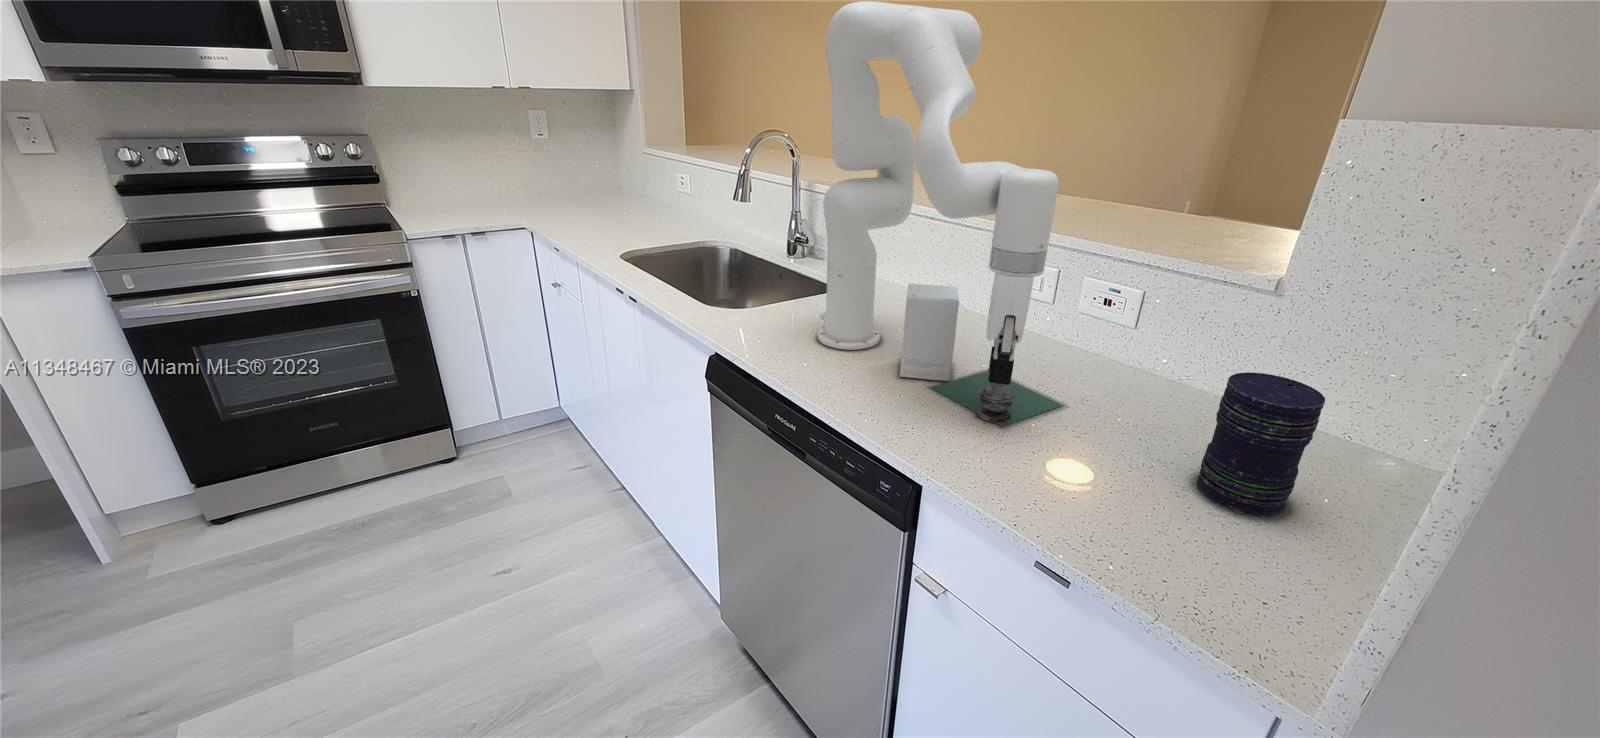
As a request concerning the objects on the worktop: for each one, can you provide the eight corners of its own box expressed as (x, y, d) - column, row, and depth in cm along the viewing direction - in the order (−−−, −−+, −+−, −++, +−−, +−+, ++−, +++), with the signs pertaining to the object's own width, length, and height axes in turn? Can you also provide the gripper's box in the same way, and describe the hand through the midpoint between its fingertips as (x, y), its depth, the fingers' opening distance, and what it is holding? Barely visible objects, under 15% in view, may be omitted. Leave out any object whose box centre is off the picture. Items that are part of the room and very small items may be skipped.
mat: (930, 387, 111) (931, 387, 111) (989, 371, 118) (989, 370, 118) (1001, 427, 99) (1002, 426, 99) (1062, 405, 105) (1062, 405, 105)
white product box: (950, 382, 113) (960, 300, 107) (899, 377, 114) (905, 296, 108) (950, 363, 121) (958, 285, 115) (902, 359, 123) (908, 282, 117)
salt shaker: (992, 426, 98) (1003, 353, 93) (966, 410, 103) (975, 340, 98) (1020, 418, 101) (1033, 347, 96) (994, 402, 106) (1005, 334, 101)
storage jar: (1251, 525, 77) (1291, 414, 71) (1178, 482, 85) (1208, 379, 79) (1303, 506, 81) (1346, 399, 75) (1228, 466, 89) (1261, 367, 83)
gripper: (990, 245, 100) (976, 354, 107) (988, 272, 85) (971, 396, 93) (1041, 248, 98) (1023, 359, 106) (1048, 278, 83) (1026, 404, 91)
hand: (999, 375), depth 99 cm, fingers closed on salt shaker, 3 cm apart
